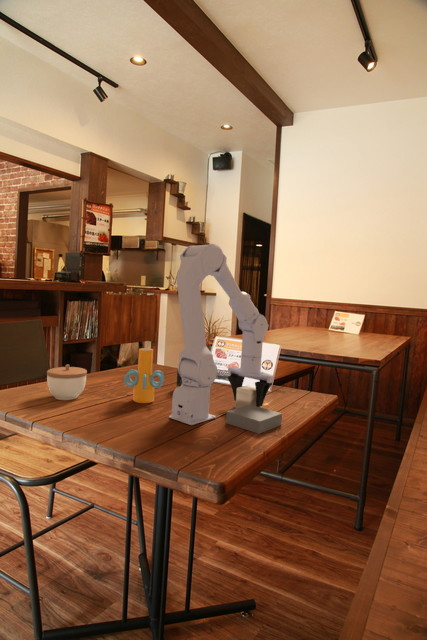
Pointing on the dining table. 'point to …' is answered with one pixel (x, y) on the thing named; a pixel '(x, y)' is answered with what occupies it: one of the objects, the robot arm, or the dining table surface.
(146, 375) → the cylinder
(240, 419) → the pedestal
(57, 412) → the dining table surface
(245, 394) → the cream block
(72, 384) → the lidded jar
